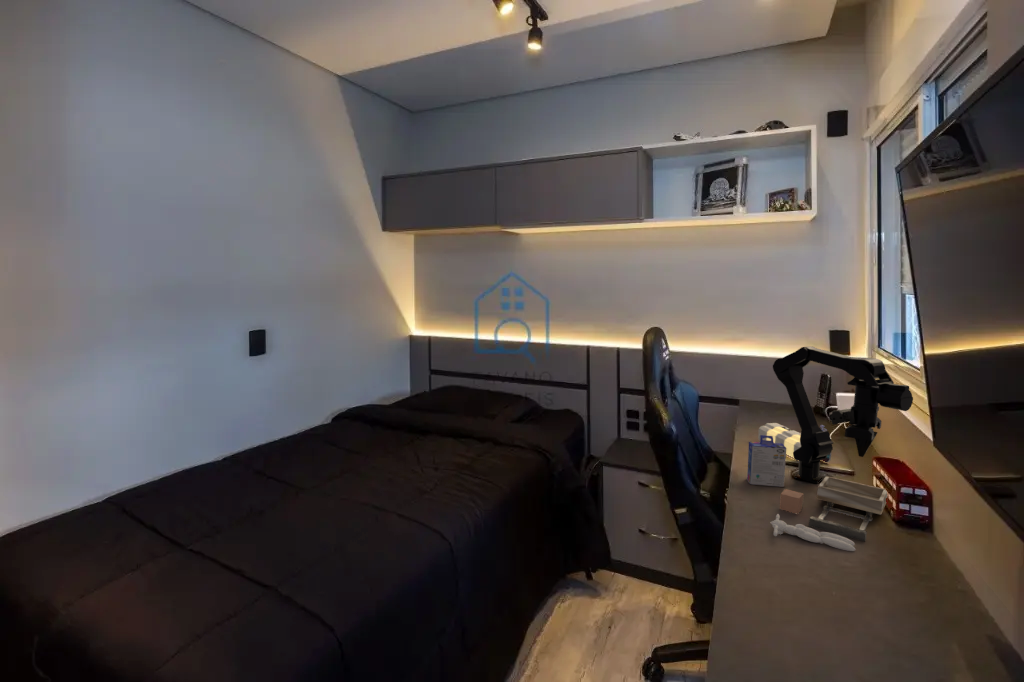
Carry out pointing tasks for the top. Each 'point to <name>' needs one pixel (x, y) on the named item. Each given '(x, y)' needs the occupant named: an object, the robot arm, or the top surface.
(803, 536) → the decorative figure
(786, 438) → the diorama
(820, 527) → the framed panel
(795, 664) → the top surface
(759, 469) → the ink cartridge box
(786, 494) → the block
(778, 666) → the top surface
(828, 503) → the beige open rectangular box
